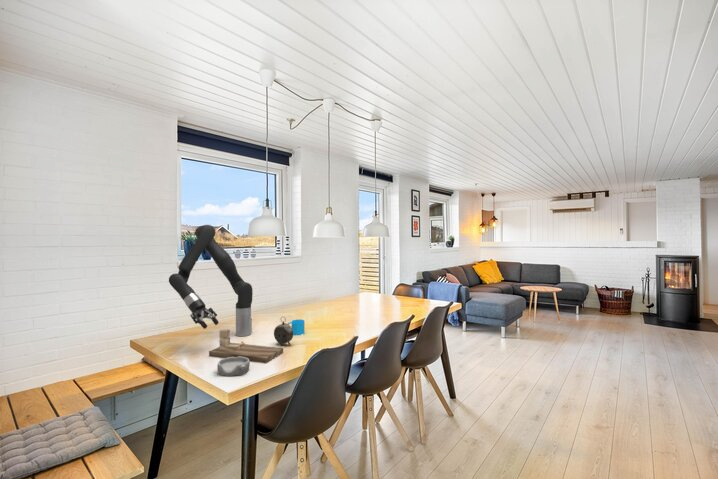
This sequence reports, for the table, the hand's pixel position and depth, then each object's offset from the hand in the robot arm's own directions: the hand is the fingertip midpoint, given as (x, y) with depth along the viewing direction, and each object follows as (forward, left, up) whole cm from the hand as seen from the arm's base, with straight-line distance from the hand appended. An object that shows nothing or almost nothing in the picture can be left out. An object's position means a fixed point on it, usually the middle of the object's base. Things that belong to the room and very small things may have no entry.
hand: (211, 325), depth 186 cm
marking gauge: (-4, +11, -12) cm, 17 cm away
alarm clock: (-22, +30, -14) cm, 40 cm away
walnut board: (-2, +20, -14) cm, 25 cm away
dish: (+19, +28, -14) cm, 37 cm away
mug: (-46, +25, -14) cm, 54 cm away
